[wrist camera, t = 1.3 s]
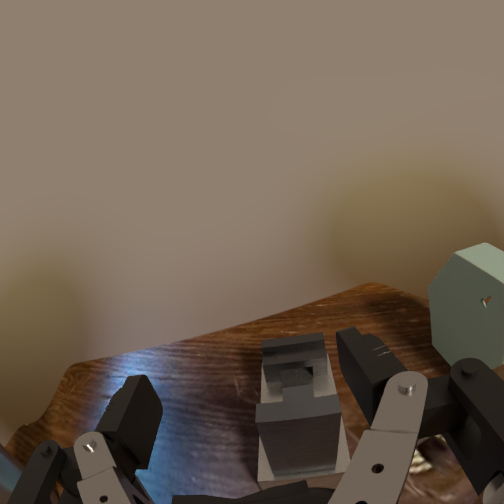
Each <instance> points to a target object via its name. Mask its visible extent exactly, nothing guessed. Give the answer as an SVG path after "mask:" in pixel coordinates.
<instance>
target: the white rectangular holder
mask: <svg viewBox="0 0 504 504" xmlns="http://www.w3.org/2000/svg"><path fill="white" fill-rule="evenodd" d="M262 352H263V357H262V380H261V403H272V402H282V401H283V392H282V388H285V387H294V386H302V385H309V384H313V391H314V397H320V396H327V395H333V394H337V392H336V388H335V383H334V379H333V374H332V370H331V366H330V362H329V357H328V354H327V353H326V349H325V345H324V337H323V333H322V332H321V333H314V334H307V335H301V336H293V337H286V338H278V339H269V340H262ZM349 463H350V457H349V452H348V446H347V441H346V436H345V431H344V426H343V421H342V416H341V425H340V435H339V445H338V454H337V462H336V467H332V468H326V469H319V470H312V471H303V472H294V473H282V474H272V471H271V468H270V465H269V462H268V459H267V456H266V453H265V450H264V447H263V444H262V441H261V438H260V435H259V459H258V483H259V485H260V487H261V489H262V490H265V489H267V488H270V487H274V486H279V485H284V484H289V483H294V482H298V481H302V480H306V481H307V485H308V487H323V488H332V489H336V488H337V486H338V484H339V482H340V481H341V479H342V477H343V475H344V473H345V471H346V469H347V467H348V465H349Z"/></svg>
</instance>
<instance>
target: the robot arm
mask: <svg viewBox="0 0 504 504" xmlns="http://www.w3.org/2000/svg"><path fill="white" fill-rule="evenodd" d="M336 341H337V348H338V355H339V363H340V367H341V371H342V374H343V376H344V378H345V380H346V382H347V383H348V385H349V387H350V389H351V391H352V393H353V395H354V397H355V398H356V400H357V402H358V404H359V406H360V408H361V410H362V412H363V413H364V415H365V417H366V419H367V421H368V423H369V425H370V427H371V428H367V429H366V430H365V431H364V433H363V435H362V437H361V439H360V442H359V444H358V446H357V448H356V450H355V453H354V455H353V457H352V459H351V461H350V463H349V465H348V467H347V469H346V471H345V473H344V475H343V477H342V479H341V481H340V482H339V484H338V486H337V488H336V489H332V488H323V487H308V485H307V481H306V480H302V481H298V482H294V483H289V484H284V485H279V486H274V487H270V488H267V489H265V490H262V491H259V492H257V493H254V494H251V495H248V496H245V497H242V498H238V499H231V498H222V497H215V496H208V495H173V498H172V504H398V501H399V499H400V496H401V493H402V491H403V488H404V485H405V482H406V479H407V476H408V473H409V469H410V466H411V463H412V460H413V456H414V453H415V449H416V445H417V441H418V439H420V438H425V437H430V436H434V435H438V434H442V436H443V437H444V439H445V440H446V442H447V444H448V445H449V447H450V448H451V450H452V452H453V453H454V455H455V457H456V458H457V460H458V462H459V463H460V465H461V467H462V468H463V470H464V472H465V474H466V475H467V477H468V479H469V480H470V482H471V484H472V486H473V487H474V489H475V491H476V493H477V495H478V498H477V499H476V500H475V502H474V503H473V504H504V381H503V380H502V379H501V378H500V377H499V376H498V375H497V374H496V373H495V372H494V371H492V370H491V369H490V368H489V367H488V366H487V365H486V364H485V363H484V362H483V361H481V360H479V359H476V358H464V359H461V360H459V361H457V362H455V363H454V364H453V365H452V367H451V370H450V374H449V375H445V376H440V377H436V378H431V379H426V377H425V376H424V375H422V374H421V373H418V372H414V371H408V370H407V369H406V368H405V367H404V366H403V365H402V364H401V362H400V361H399V360H398V359H397V358H396V357H395V355H394V354H393V353H392V352H390V350H389V349H388V347H387V346H385V344H384V343H383V342H382V341H381V340H380V338H378V337H376V336H374V335H371V334H366V335H363V336H362V335H361V334H360V333H359V332H358V330H357V329H356V328H355V327H354V326H352V327H349V328H346V329H343V330H340V331H337V332H336ZM162 414H163V408H162V404H161V401H160V399H159V397H158V395H157V394H156V392H155V390H154V388H153V386H152V384H151V383H150V381H149V379H148V377H147V376H146V375H144V374H143V375H135V376H129V377H127V379H126V381H125V383H124V385H123V387H122V388H120V389H119V390H118V391H117V392H116V393H115V394H114V395H113V396H112V398H111V400H110V402H109V405H108V406H107V408H106V411H105V412H104V414H103V416H102V418H101V420H100V422H99V424H98V426H97V428H96V430H95V432H88V433H85V434H83V435H82V436H80V437H79V438H78V439H77V440H76V442H75V444H74V447H69V448H63V449H62V448H61V447H60V446H59V445H58V443H57V442H56V441H54V440H46V441H43V442H41V443H40V444H39V445H38V446H37V447H36V448H35V450H34V452H33V453H32V455H31V457H30V459H29V461H28V463H27V464H26V466H24V465H23V464H22V463H20V462H19V461H18V460H17V459H16V458H15V457H14V456H13V455H12V454H11V453H10V452H9V451H7V450H6V449H5V448H4V447H3V446H2V445H1V444H0V504H155V503H154V502H153V500H152V499H151V497H150V496H149V494H148V493H147V491H146V490H145V488H144V486H143V485H142V483H141V482H140V480H139V478H138V477H137V476H136V475H135V471H136V469H146V470H147V469H148V465H149V461H150V457H151V453H152V450H153V446H154V442H155V439H156V435H157V432H158V428H159V425H160V421H161V418H162ZM56 481H57V482H58V483H59V484H60V485H61V486H62V487H63V488H64V489H63V492H62V495H61V497H60V500H59V498H58V496H57V494H56V493H55V491H54V490H53V487H54V485H55V482H56Z"/></svg>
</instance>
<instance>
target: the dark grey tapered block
mask: <svg viewBox="0 0 504 504" xmlns="http://www.w3.org/2000/svg"><path fill="white" fill-rule="evenodd" d="M282 392H283V401H282V402H272V403H260V404H256V419H255V423H256V426H257V429H258V432H259V435H260V438H261V441H262V444H263V447H264V450H265V453H266V456H267V459H268V462H269V465H270V468H271V471H272V474H282V473H294V472H303V471H312V470H319V469H326V468H332V467H336V462H337V454H338V445H339V435H340V425H341V407H340V403H339V398H338V394H333V395H327V396H320V397H314V391H313V384H309V385H302V386H294V387H285V388H282Z"/></svg>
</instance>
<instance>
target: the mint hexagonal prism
mask: <svg viewBox="0 0 504 504" xmlns="http://www.w3.org/2000/svg"><path fill="white" fill-rule="evenodd" d="M428 296H429V306H430V318H431V333H432V345H433V347H434V348H435V349H436V350H437V351H438V352H439V353H440V354H441V356H442V357H443V358H444V359H445V360H446V361H447V362H448V364H449V365H450V366H451V367H452V365H453V364H454V363H455V362H457V361H459V360H461V359H464V358H476V359H479V360H481V361H483V362H484V363H485V364H486V365H487V366H488V367H489V368H490V369H491V370H493V369H495V368H497V367H499V366H501V365H503V364H504V252H503V251H501V250H500V249H498V248H495V247H494V246H492V245H490V244H488V243H486V242H485V243H482V244H479V245H476V246H473V247H469V248H466V249H463V250H460V251H457V252H454V253H453V254H452V255H451V257H450V258H449V260H448V261H447V262H446V264H445V265H444V266H443V268H442V269H441V270H440V272H439V273H438V274H437V276H436V277H435V278H434V279H433V281H432V282H431V283H430V285H429V286H428ZM489 297H491V300H490V301H489V302H488V303H487V307H486V304H485V302H484V300H483V299H488V298H489Z"/></svg>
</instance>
